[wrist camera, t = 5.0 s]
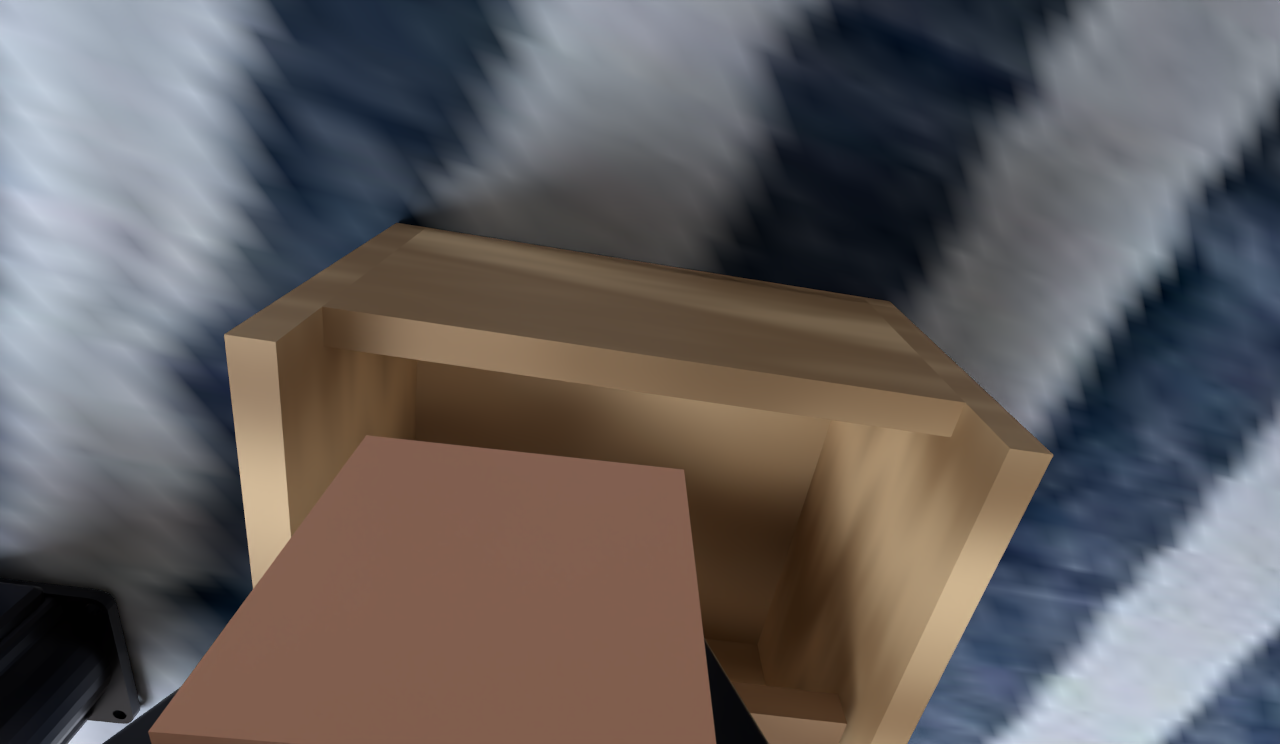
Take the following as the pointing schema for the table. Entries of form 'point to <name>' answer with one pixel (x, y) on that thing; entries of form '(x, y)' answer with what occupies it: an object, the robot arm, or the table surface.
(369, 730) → the block
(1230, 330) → the table surface
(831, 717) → the lid
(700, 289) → the box
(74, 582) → the table surface
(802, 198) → the table surface
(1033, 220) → the table surface
